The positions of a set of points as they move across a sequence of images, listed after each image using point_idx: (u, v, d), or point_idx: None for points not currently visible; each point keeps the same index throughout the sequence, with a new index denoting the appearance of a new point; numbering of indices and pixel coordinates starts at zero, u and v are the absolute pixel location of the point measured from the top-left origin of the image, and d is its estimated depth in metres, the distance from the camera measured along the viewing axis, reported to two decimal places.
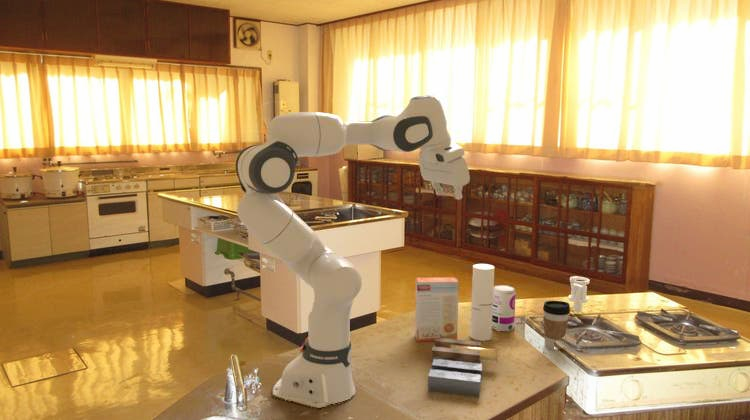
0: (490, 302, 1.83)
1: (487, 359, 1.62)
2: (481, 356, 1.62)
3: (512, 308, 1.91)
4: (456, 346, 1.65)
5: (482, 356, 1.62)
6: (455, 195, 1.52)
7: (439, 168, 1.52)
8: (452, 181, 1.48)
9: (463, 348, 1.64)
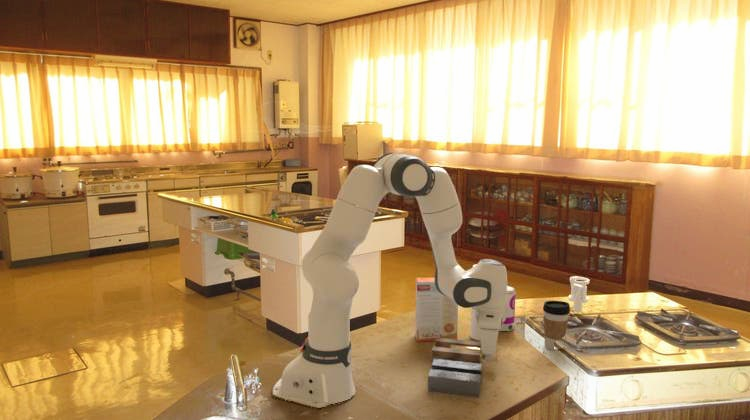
0: None
1: None
2: (481, 356, 1.62)
3: (512, 308, 1.91)
4: (456, 346, 1.65)
5: (482, 357, 1.62)
6: (485, 356, 1.61)
7: None
8: None
9: (463, 348, 1.64)
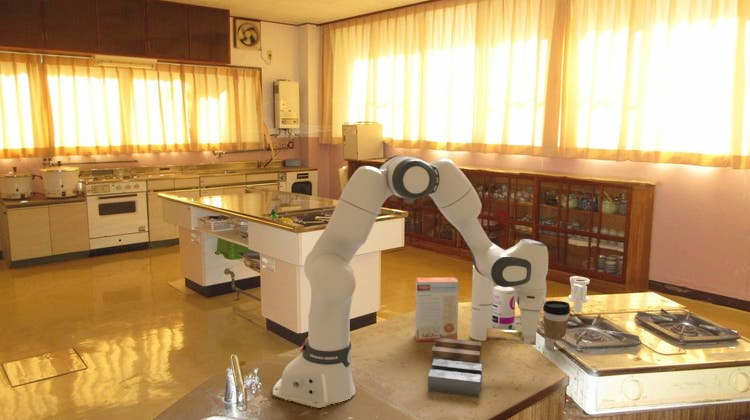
0: (490, 302, 1.83)
1: None
2: (519, 339, 1.58)
3: (512, 308, 1.91)
4: (493, 329, 1.61)
5: (520, 340, 1.58)
6: (524, 338, 1.57)
7: None
8: None
9: (500, 331, 1.60)
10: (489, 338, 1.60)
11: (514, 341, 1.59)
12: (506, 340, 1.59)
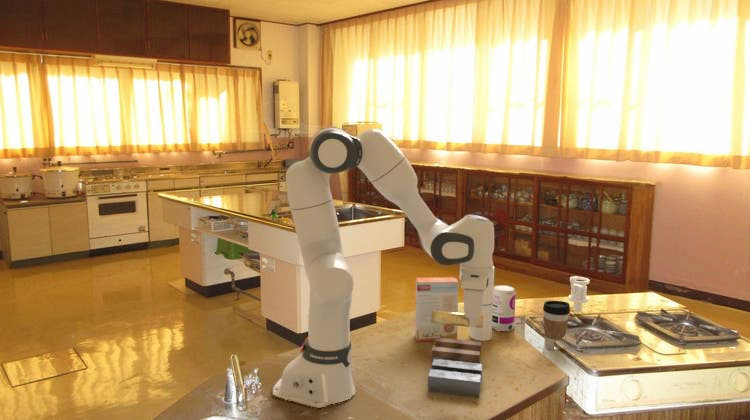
0: (490, 302, 1.83)
1: None
2: (465, 322, 1.48)
3: (512, 308, 1.91)
4: (438, 312, 1.51)
5: (466, 322, 1.48)
6: None
7: None
8: None
9: (446, 314, 1.50)
10: (434, 321, 1.50)
11: (460, 324, 1.49)
12: (452, 323, 1.49)
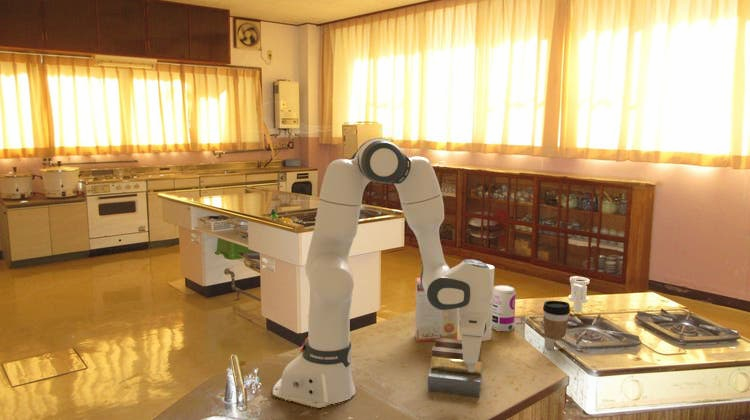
0: (490, 302, 1.83)
1: (471, 372, 1.50)
2: (464, 369, 1.50)
3: (512, 308, 1.91)
4: (438, 358, 1.53)
5: (466, 369, 1.50)
6: (468, 366, 1.48)
7: None
8: None
9: (445, 360, 1.52)
10: (433, 367, 1.52)
11: (459, 371, 1.51)
12: (451, 369, 1.51)
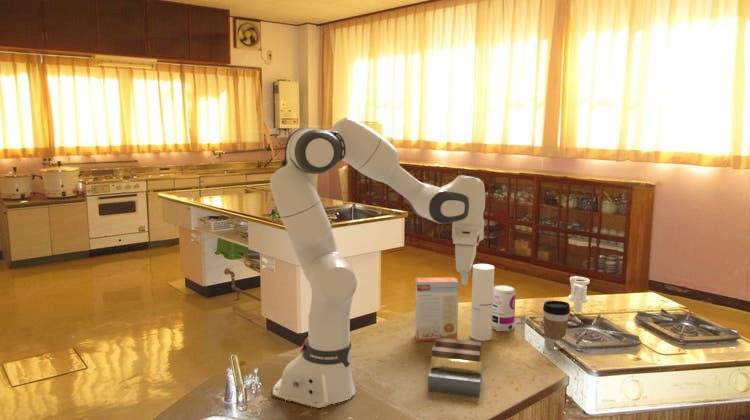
0: (490, 302, 1.83)
1: (471, 372, 1.50)
2: (464, 369, 1.50)
3: (512, 308, 1.91)
4: (438, 358, 1.53)
5: (466, 369, 1.50)
6: (461, 279, 1.52)
7: None
8: None
9: (445, 360, 1.52)
10: (433, 367, 1.52)
11: (459, 371, 1.51)
12: (451, 369, 1.51)
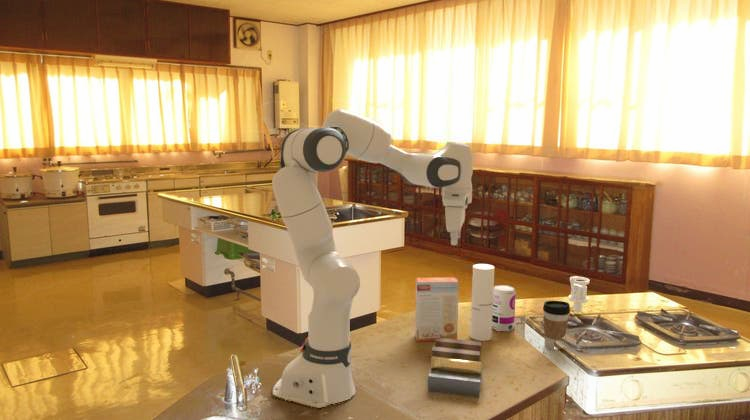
0: (490, 302, 1.83)
1: (471, 372, 1.50)
2: (464, 369, 1.50)
3: (512, 308, 1.91)
4: (438, 358, 1.53)
5: (466, 369, 1.50)
6: (451, 240, 1.62)
7: None
8: None
9: (445, 360, 1.52)
10: (433, 367, 1.52)
11: (459, 371, 1.51)
12: (451, 369, 1.51)
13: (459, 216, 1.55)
